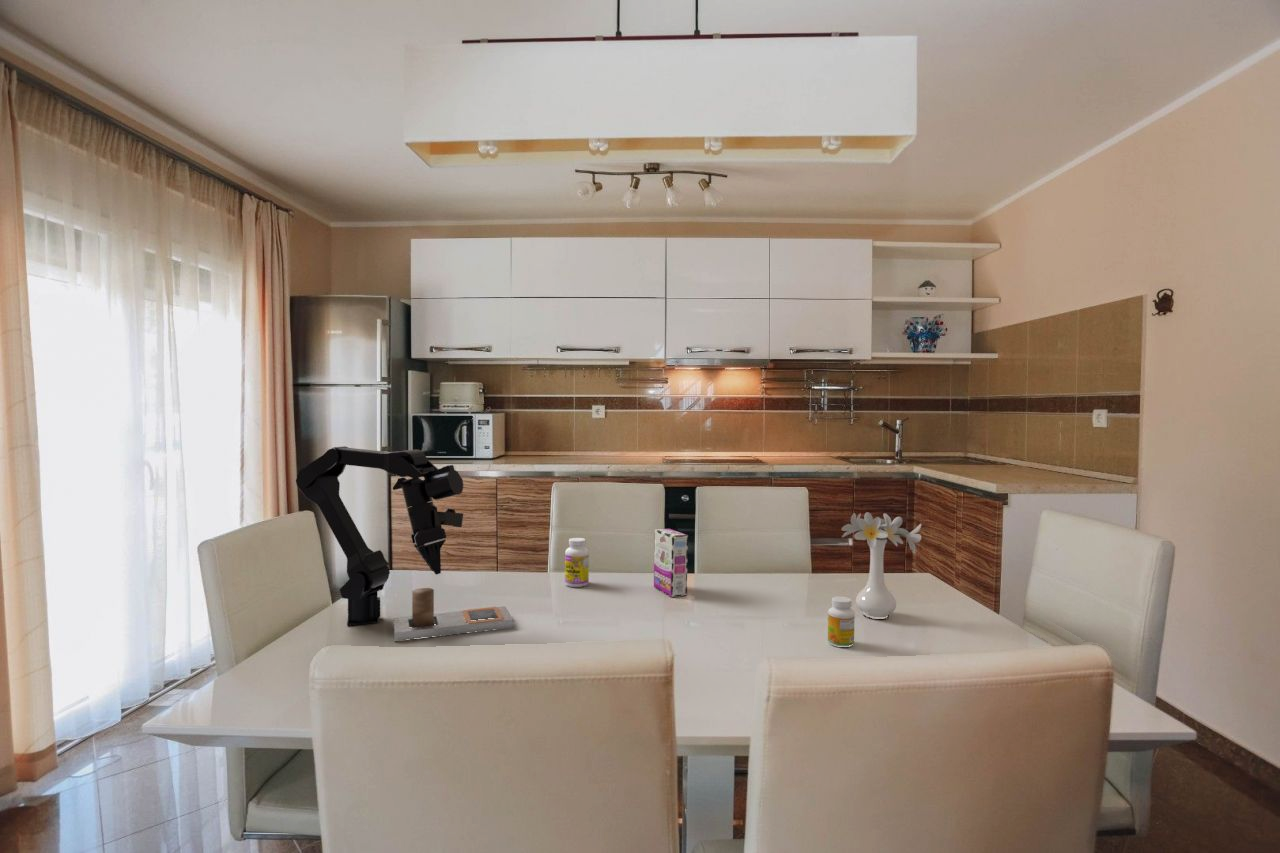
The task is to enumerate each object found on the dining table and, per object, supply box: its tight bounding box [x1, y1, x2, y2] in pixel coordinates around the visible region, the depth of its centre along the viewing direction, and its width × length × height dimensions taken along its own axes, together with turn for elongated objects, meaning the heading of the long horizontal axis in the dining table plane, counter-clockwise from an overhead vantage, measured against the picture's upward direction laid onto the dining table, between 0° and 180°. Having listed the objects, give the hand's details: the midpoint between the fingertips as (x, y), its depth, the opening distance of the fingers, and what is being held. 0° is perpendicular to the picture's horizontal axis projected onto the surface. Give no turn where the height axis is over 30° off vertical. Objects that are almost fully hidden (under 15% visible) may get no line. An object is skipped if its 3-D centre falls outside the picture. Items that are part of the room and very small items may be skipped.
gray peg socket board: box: [393, 605, 514, 642], centre depth 146 cm, size 25×10×2 cm, turn 112°
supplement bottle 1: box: [564, 537, 590, 588], centre depth 181 cm, size 7×7×13 cm
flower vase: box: [841, 511, 923, 617], centre depth 157 cm, size 13×18×25 cm
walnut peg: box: [411, 587, 435, 628], centre depth 143 cm, size 4×4×9 cm
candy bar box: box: [653, 528, 689, 598], centre depth 176 cm, size 11×5×16 cm, turn 25°
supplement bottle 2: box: [827, 596, 855, 646], centre depth 138 cm, size 5×5×10 cm
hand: (436, 572), depth 145 cm, fingers open, 9 cm apart
